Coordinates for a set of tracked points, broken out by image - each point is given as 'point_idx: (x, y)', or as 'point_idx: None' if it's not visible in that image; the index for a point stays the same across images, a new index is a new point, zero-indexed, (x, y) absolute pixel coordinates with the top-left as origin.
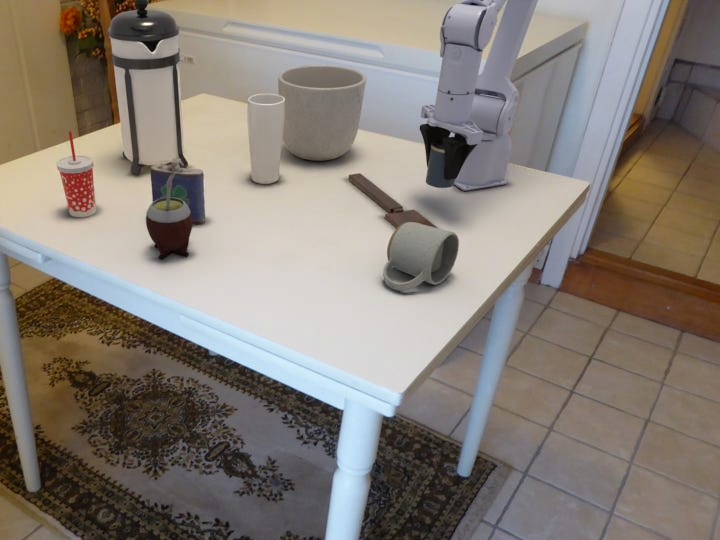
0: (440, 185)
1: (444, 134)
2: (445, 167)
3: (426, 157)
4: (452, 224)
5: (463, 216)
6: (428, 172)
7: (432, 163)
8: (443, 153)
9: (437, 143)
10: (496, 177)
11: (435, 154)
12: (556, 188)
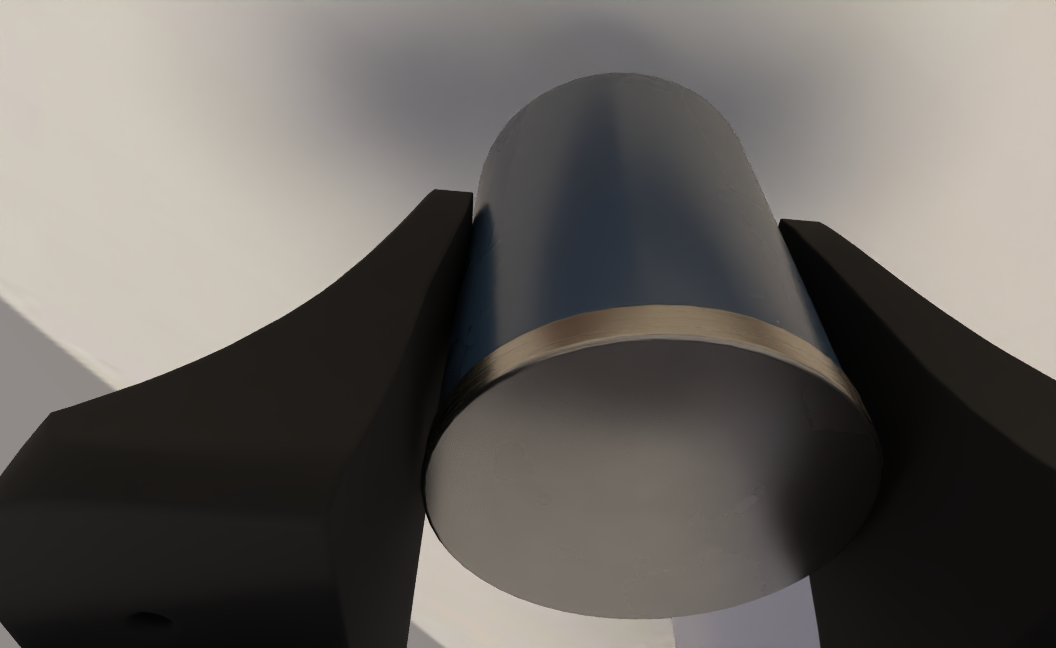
0: (498, 138)
1: (860, 643)
2: (427, 242)
3: (875, 267)
4: (312, 40)
5: (406, 187)
6: (670, 126)
7: (632, 188)
8: (489, 346)
9: (775, 455)
10: None
11: (613, 272)
12: (512, 632)
